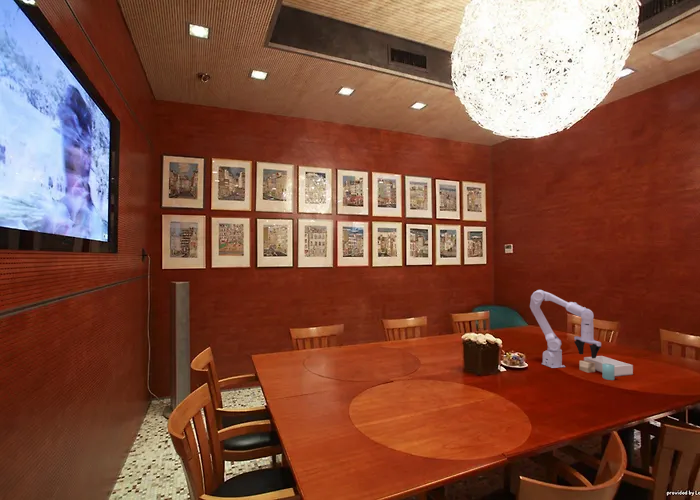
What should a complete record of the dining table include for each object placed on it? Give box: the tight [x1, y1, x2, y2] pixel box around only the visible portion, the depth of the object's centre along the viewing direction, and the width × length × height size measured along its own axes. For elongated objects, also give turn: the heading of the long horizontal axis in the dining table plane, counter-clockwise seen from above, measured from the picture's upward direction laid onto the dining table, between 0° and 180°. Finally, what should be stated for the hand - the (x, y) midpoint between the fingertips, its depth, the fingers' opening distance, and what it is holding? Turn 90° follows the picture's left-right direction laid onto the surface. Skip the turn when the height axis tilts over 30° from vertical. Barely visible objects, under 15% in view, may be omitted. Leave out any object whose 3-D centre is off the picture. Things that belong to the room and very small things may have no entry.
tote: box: [583, 355, 634, 377], centre depth 192 cm, size 13×17×5 cm
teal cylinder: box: [601, 363, 616, 381], centre depth 179 cm, size 5×5×7 cm
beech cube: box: [579, 359, 596, 374], centre depth 191 cm, size 5×5×5 cm
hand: (587, 356), depth 191 cm, fingers open, 7 cm apart
